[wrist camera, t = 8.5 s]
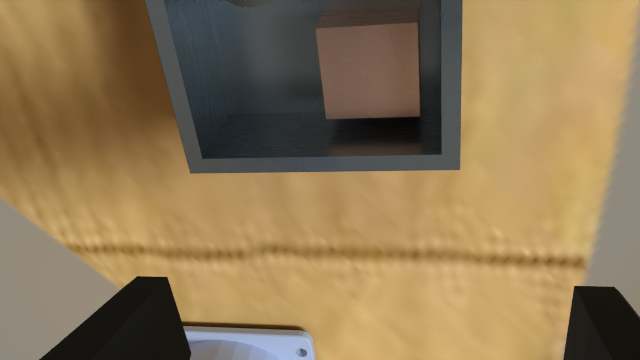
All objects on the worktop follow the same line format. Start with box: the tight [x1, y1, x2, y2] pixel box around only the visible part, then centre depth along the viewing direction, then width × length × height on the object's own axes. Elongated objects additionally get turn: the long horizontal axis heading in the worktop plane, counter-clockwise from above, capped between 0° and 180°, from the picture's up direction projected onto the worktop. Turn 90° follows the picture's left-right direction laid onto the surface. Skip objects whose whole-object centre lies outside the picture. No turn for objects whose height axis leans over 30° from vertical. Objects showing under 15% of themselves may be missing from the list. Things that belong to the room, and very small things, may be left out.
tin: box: [145, 0, 462, 173], centre depth 17 cm, size 8×8×4 cm
